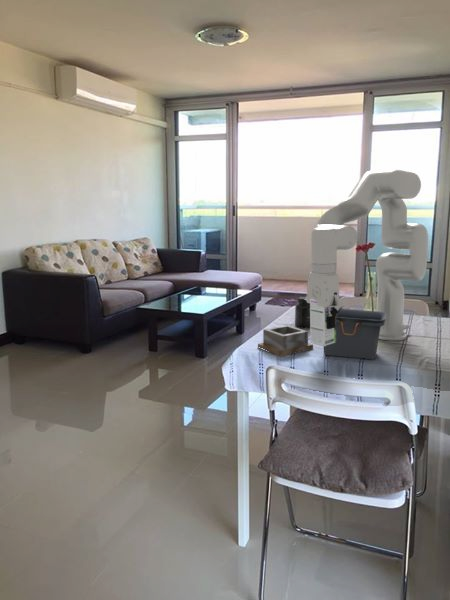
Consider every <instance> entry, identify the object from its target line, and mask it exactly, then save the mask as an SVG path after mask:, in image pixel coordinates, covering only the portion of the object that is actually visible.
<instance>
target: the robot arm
mask: <svg viewBox="0 0 450 600" xmlns="http://www.w3.org/2000/svg"><path fill="white" fill-rule="evenodd" d="M421 182H422V181H421V178H420V177H419V175H418V174H417V173H416V172H413V171H405V170H400V169H379V170H378V169H377V170H368V171H366V172H364V174H363V175H362V176H361V178H359V180H358V182H357V183H356V185H355V186H354V188H353V189H352V191H351V192H350V194H349V195H348V196H347V198H346V199H344V200H342V201H341V202H339V203H337V204H336V205H334V206H332V207H330V208H329V209H328V210H327V211H325V212H324V213H322V215H321V216H320V217H319V219H318V221H316V223H315V225H314V227H313V229H312V230H311V237H310V238H311V239H310V240H311V241H310V242H311V244H310V245H311V247H310V248H311V249H310V250H311V251H310V252H311V253H310V257H311V258H310V259H311V260H310V272H309V274H308V278H307V284H306V285H307V287H306V295H305V296H304V297H305V300H306V301H307V303H308V306H309V308H310V299H311V298H312V299H314V300H317V305H318V306H321V307H324V308H327V313H328V316H327V329H332V328H335V324H336V315H337V313H338V312H339V311H340V310H341V309H344V305H343V303H342V301H341V299H340V283H339V276H338V273H337V265H338V264H337V263H338V262H337V258H338V257H337V252H338V250H340V251H343V250H344V251H347V250H351V249H352V248H354V247H355V246H356V244H357V243H358V240H359V234H358V231H357V230H356V229H355V227H353V226H351V225H348V224H347V223H352V222H354V221H358V220H361V219H362V218H366V217H367V216H368V215H369V214H370V213H371V211H372V209H373V208H374V206H375V205H376V203H377V202H378V204H379V206H380V208H381V209H380V210H381V234H380V235H381V237H380V238H381V244H382V246H383V247H384V249H385V248H386V249H389V250H390V249H391V250H399V251H409V253H403V252H384V253H382V254H380V255H379V256H378V257H377V259H376V261H375V270H376V277H377V278H376V279H377V297H376V299H377V300H376V311H378V312H384V313H386V319H385V323H384V325H383V326H381V328H380V333H379V339H378V340H382V341H391V342H392V341H402V340H405V339H407V333H405V332H404V331H405V330H408V329H410V327H411V326H410V324H409V323H405V324H404V323H403V322H404V309H405V308H404V307H405V306H404V305H405V289H404V285H403V284H402V281H412V282H418V281H421V280H423V278H424V277H425V275H426V273H427V265H428V264H427V263H428V251H429V250H428V247H429V233H428V230H427V228H426V226H425V225H424V224H422V223H415V222H414V223H413V222H412V223H411V222H408V208H407V205H406V203H405V201H404V200H405V199H406V200H410V199H414V198H416V197H417V196H418V195H419V193H420V191H421V188H422V183H421ZM345 224H347V225H345ZM331 308H332V311H331Z"/></svg>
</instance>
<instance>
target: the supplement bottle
mask: <svg viewBox="0 0 450 600" xmlns="http://www.w3.org/2000/svg"><path fill="white" fill-rule="evenodd" d="M305 297H306V296H299V297H298V298H297V304H296V305H295V307H294V327H296V328H299V329H310V308H309V306H308V303H307V301H306V300H305Z"/></svg>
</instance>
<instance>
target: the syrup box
mask: <svg viewBox="0 0 450 600" xmlns="http://www.w3.org/2000/svg"><path fill="white" fill-rule="evenodd" d="M331 311H332V308H331ZM327 316H328V313H327V308H324V307H321V306H318V305H317V300H314V299H312V298H311V299H310V328H309V329H310V330H309V331H310V333H309V334H310V344H312V345H316V346H321V347H324V346H326V345H329V344H332V343H336V324H335V328H332V329H327Z"/></svg>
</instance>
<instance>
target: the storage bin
mask: <svg viewBox="0 0 450 600" xmlns="http://www.w3.org/2000/svg"><path fill="white" fill-rule="evenodd" d="M385 319H386V313H384V312H378V311H377V310H363V309H353V308H352V309H350V308H342V309H341V310H340V311H339V312H338V313H337V315H336V343H332V344H329V345H326V346H323V354H324V355H325V356H334V357H341V358H343V357H345V358H352V359H353V358H354V359H361V358H366V359H365V360H370V359H373V360H375V359H376V357H377V356H376V355H377V351H378V345H379V340H380V339H379V333H380V328H381V326H383V325H384V323H385Z"/></svg>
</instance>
